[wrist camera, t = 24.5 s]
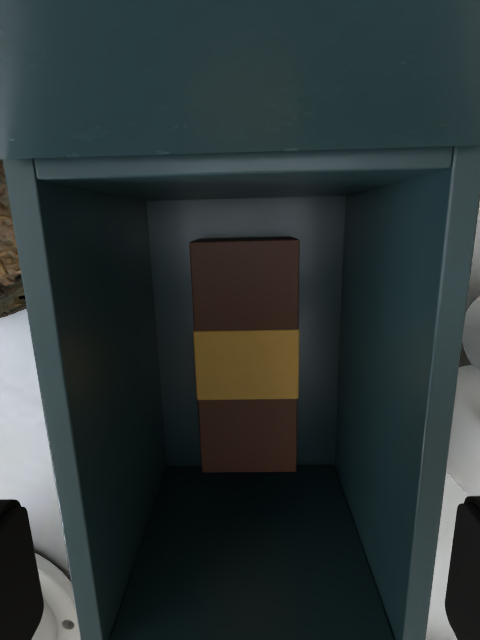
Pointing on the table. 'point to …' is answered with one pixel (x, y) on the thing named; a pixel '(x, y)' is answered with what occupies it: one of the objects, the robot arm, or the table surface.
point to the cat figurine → (467, 411)
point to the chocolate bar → (246, 351)
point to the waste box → (312, 405)
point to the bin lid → (236, 76)
